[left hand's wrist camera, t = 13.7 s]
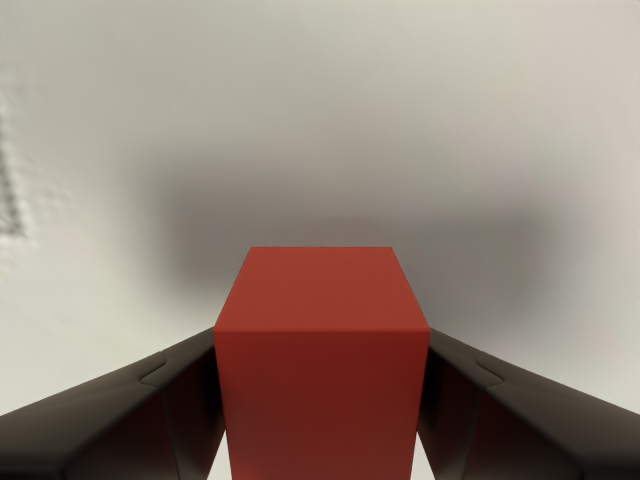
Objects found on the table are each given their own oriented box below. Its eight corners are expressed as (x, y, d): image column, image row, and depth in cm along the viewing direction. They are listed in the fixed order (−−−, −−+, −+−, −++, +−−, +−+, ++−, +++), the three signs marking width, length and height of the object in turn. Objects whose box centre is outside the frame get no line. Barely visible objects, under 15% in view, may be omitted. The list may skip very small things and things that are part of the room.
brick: (250, 246, 12) (211, 329, 8) (391, 246, 12) (432, 329, 7) (259, 368, 14) (232, 490, 9) (381, 368, 14) (409, 490, 9)
